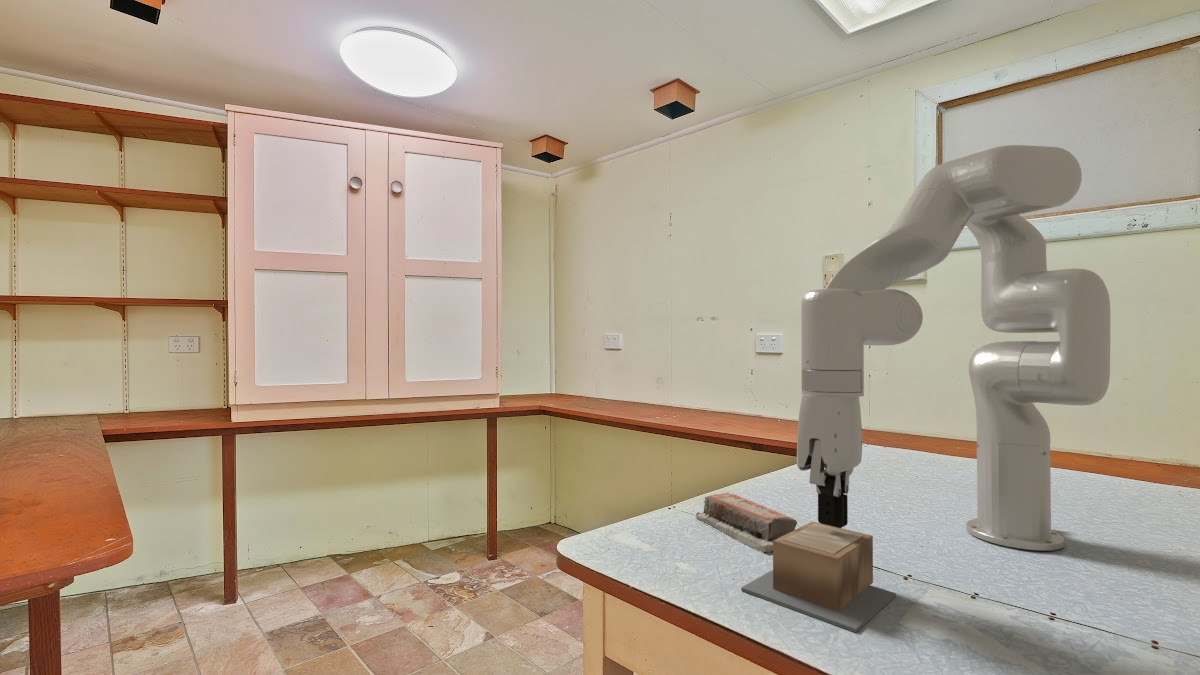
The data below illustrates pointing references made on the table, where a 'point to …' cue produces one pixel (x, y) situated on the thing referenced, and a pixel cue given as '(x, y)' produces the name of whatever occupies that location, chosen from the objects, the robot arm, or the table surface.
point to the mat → (846, 617)
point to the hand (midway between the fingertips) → (832, 524)
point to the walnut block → (823, 564)
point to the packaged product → (745, 520)
